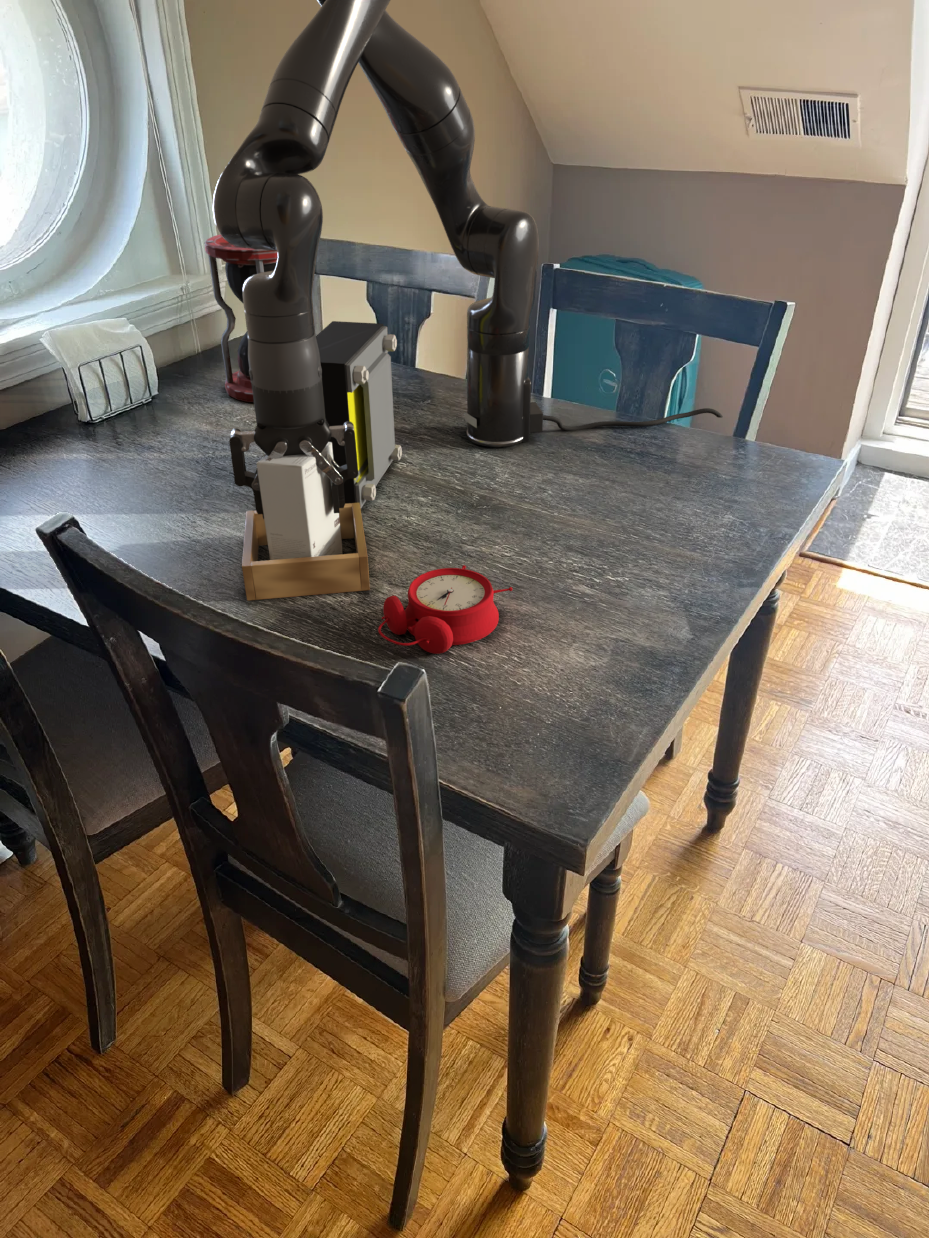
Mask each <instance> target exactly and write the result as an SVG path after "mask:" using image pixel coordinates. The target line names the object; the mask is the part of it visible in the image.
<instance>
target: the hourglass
mask: <svg viewBox="0 0 929 1238" xmlns="http://www.w3.org/2000/svg"><path fill="white" fill-rule="evenodd" d="M203 244H204V250H205V253H206V254H207V256H208V263H209V270H210V277H211V285H212V291H213V298H214V299H215V301H216V303H217V305H218V306H219V307H220V308H221V309H222V310H223V311H224V314H225V316H226V327H225V330H224V331H223V333H222V334H221V339H220V345H221V352H222V360H223V366H224V373H225V381H224V386H225V387H224V388H225V392H226V393H227V395H228V396H229V397H231V398H233V399H236V400H238V401H242V402H247V403H254V399H253V392H252V384H251V379H250V376H249V361H248V334H247V331H246V332H245V333H244V335H243V336H242V338H241V339H240V342H239V345H238V348H237V365H238V368H239V370H237V371H234V372H233V370H232V369H233V368H232V360H231V355H230V348H229V340H230V336H231V334H232V333H233V331H234V330H235V327H236V321H237V320H236V319H237V318H236V316H235V313H234V310H233V308H232V307H231V306H230V305H228V304H227V303H226V301H225V300H224V298H223V296H222V291H221V285H220V284H221V283H220V277H219V271H218V270H219V269H218V263H217V259H218V260H222V261H223V262H225V266H224V269H225V270H224V271H225V277H226V281H227V285H228V287H229V288H230V290H231V292H232V293H233V295H234V296H235V297H236V298H237V299H238V300H239V301H240V303H242V304H243V285H244V282H245V281H246V280H247V279H248V278H249V277H251V276H253V275H255V274H259V273H263V272H269V271H274V270H275V267H276V264H277V259H278V253H277V251H275V250H264V249H251V248H241V247H237V246H234V245H232V244H230V243H229V242H227V241H226V240H225V239H224V238H223V237H222V236H221V234H220V233H219V234H216V235H213V236H211V237H209V238H206V240H205V241H204V243H203Z"/></svg>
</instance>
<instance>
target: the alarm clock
mask: <svg viewBox="0 0 929 1238" xmlns="http://www.w3.org/2000/svg"><path fill="white" fill-rule="evenodd" d="M508 591H509V592H512V591H513V587H511V586H509V587H508V588H503V589H501V588H500V589H495V590H494V588H493V586H492V583H491V581H490V580H489V579H488V577H486V576H484V575H483V574H482V573H479V572H477V571H474V570H471V569H467V566H466V565H465V564H464V565H463V564H462V566H461V568H460V567H443V568H437V569H433V570H429V571H426V572H424V573H422V574H419V575H418V576H417V577H416V578H414V579H413V580H412V581H411V582H410V584H409V586H408V589H407V602H408V603H407V606H406V607H405V608H404V606H403V603H402V602H401V599H400V598H399V597H398V596H397V595H390V596H388V597H387V598H386V599H385V600H384V602H383V607H382V609H383V611H382V612H383V616H381V620H384V621H383V622H381V623H380V625H378V628H377V632H378V634H379V635H380V636H381V637H382V638H383V639H385V640H386V641H388V642H390V643H392V644H394V645H397V646H403V647H408V646H413V645H416V644H417V645H418V646H419V647H420V648H421V649H422V650H423V651H425V652H427V653H429V654H435V655H436V654H437V655H438V654H439V655H440V654H444V653H446V652H447V651H448V650H449V649H450V648H451V647H452V646H459V645H465V644H470V643H471V644H472V643H474V642H477V641H480V640H482V639H483V638H486V637H487V636H488V635H491V633H492V632H494V630H495V629H496V628H497V626H498V623H499V619H500V617H499V616H500V614H499V610H498V608H497V606H496V605H495V602H494V594H497V593H498V594H499V593H503V592H508ZM385 624H386V625H387V628H388V629H389V630H390V631H391V633H393V634H394V635H398V636H401V635H405V634H406V633H407V631H408V632H409V634H410V635H412V636H414V639H415V641H412V642H404V643H403V642H399V641H397V640H394V639H391V638H390V637H388V636H386V635H385V634H384V633H383V632H382V627H383V626H384V625H385Z"/></svg>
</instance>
